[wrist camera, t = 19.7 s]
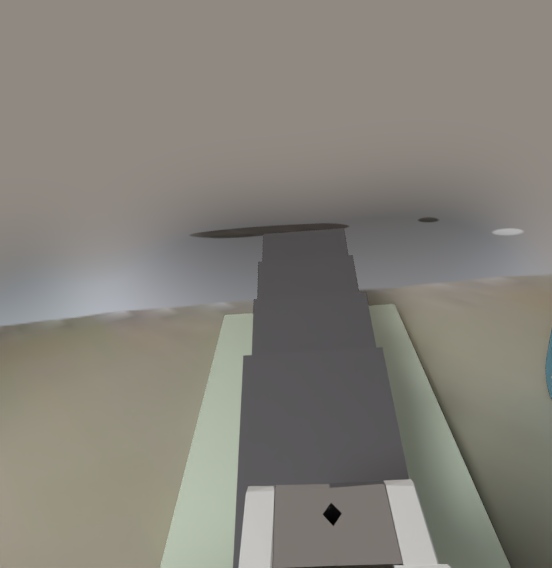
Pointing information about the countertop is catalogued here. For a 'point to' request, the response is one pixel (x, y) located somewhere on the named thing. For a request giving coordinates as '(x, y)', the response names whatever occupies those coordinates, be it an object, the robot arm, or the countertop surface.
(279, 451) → the domino
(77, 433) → the countertop surface
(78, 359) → the countertop surface
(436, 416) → the sage board
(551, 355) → the data package
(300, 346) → the domino
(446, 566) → the robot arm
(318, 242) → the domino
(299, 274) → the domino
